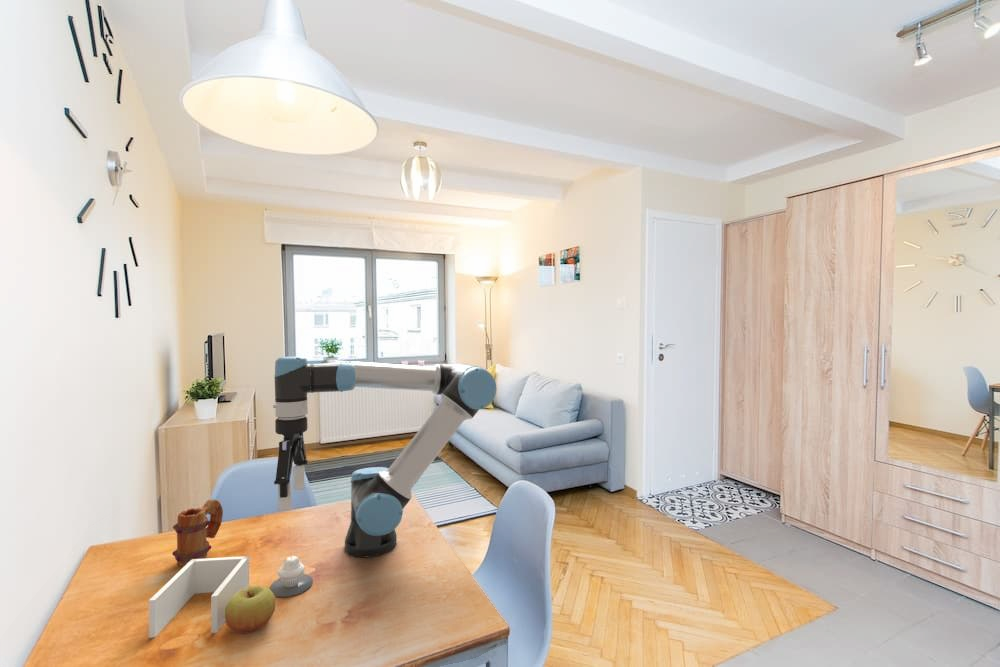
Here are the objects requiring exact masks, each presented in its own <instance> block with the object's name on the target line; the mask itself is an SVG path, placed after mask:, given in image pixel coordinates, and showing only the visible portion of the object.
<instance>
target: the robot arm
mask: <svg viewBox="0 0 1000 667" xmlns="http://www.w3.org/2000/svg"><path fill="white" fill-rule="evenodd" d="M355 388H368V389H369V388H370V389H390V390H406V391H423V392H431V393H432V394H433V395H439V396H440V398H441V402H440V403H439V405H438V406H437V407H436V408H435V409H434V411H433V412H432V413H431V414H430V416H429V417H428V418H427V419H426V420H425V422H424V424H422V426H421V427H420V428H419V429H418V431H417V432H416V433H415V435H413V438H411V440H410V441H409V442H408V443H407V445H406V446H405V447H404V449H403V450H402V451H401V452H400V454H398V456H397V458H395V460H394V461H393V462H392V464H391V465H390V466H389V467H385V466H377V467H376V466H375V467H374V466H372V467H364V468H360V469H356V470H354V471H352V474H351V480H350V484H351V485H350V492H351V493H350V494H351V495H350V496H351V497H350V499H351V501H350V503H351V504H350V522H349V526H348V530H347V532H346V533H347V534H346V536H345V538H344V551H345V552H346V553H347V554H349V555H351V556H354V557H360V558H369V557H370V558H371V557H376V556H377V557H378V556H381V555H383V554H386V553H387V552H390V551H391V550H393V549H394V548H395V547H396V545H397V543H396V542H397V539H398V538H397V533H396V528H397V527H398V526H399V525H400V523H401V522H402V518H403V513H404V511H403V510H404V508H405V507H406V506H407V505H408V503H409V502H410V500H411V499H412V498H413V496H412V495H413V494H412V490H413V487H414V486H415V485H416V484H417V483H418V481H419V480H420V479H421V477H422V476H423V475H424V473H425V472H426V471H427V470H428V468H429V467H430V466H431V464H432V463H433V462H434V461H435V459H436V458H437V456H438V455H439V454H440V453H441V451H442V450H443V449H444V447H445V446H446V445H447V443H448V442H449V441H450V439H452V437H453V436H454V434H455V433H456V432H457V431H458V429H459V428H460V427H461V426H462V424H463V423H464V422H465V421H467V420H472V419H473V418H474V417H475V415H476V414H478V412H479V410H482V409H486V408H487V407H489V406H490V405H491V404H492V403H493V401H494V399H495V398H496V395H497V382H496V379H495V377H494V376H493V375H492V373H491V372H490V371H488V370H487V369H485V368H483V367H481V366H478V365H471V364H468V363H455V364H442V363H441V364H439V363H436V364H435V365H434V366H421V365H408V364H396V363H395V364H394V363H380V362H367V361H355V360H354V361H353V360H352V361H351V360H350V361H348V360H341V359H338V360H337V359H335V358H327V359H324V360H323V361H321V362H320V363H308V359H307V357H305V356H302V355H301V356H300V355H299V356H282V357H278V358H277V359H276V360H275V362H274V402H275V403H274V404H273V406H272V408H273V409H275V417H276V418H275V421H274V423H275V426H274V428H275V433H276V434H277V435H282V436H283V440H281V441H279V442H278V456H277V464H276V473H275V480H274V481H273V483H274V485H278V511H286V510H287V511H288V510H292V489H293V491H303V490H305V465H308V463H309V462H308V461H309V460H307V454H306V447H305V440H304V433H305V432H307V431H308V417H307V416H306V415H308V394H311V393H312V394H314V393H329V392H331V393H334V392H335V393H336V392H340V393H343V392H347V391H348V392H349V391H354V389H355ZM293 463H294V465H293ZM291 474H292V480H293V481H292V482H293V484H292V482H291ZM292 485H293V486H292Z"/></svg>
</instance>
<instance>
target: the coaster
mask: <svg viewBox="0 0 1000 667" xmlns="http://www.w3.org/2000/svg"><path fill="white" fill-rule="evenodd" d="M312 585H313V577H312V576H311V575H310V574H306V573H303V575H302V577H301V579H300V581H299V583H298V584H297V585H296V586H294V587H285V586H284V584H283V583H282V581H281V580H280V578H279V577H278V578H277V579H276V580H274V581H273V582H272V583H271V584H270V585H269V587H268V588H269V589H270V590H271V591H272V592H273V594H274V595H275V598H282V599H283V598H285V599H286V598H291V597H294V596H295V597H296V596H298V595H301V594H303V593H304V592H307V591H308V590H309V589H310V588H311V587H312Z"/></svg>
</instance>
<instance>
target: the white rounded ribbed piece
mask: <svg viewBox="0 0 1000 667" xmlns="http://www.w3.org/2000/svg"><path fill="white" fill-rule="evenodd" d="M304 572H305V565H304V564H303V563H302V562H301V561H300V559H299V557H298V556H295V555H294V556H293V555H292V556H288V557H286V559H284V561H283V564H282V566H280V567H279V569H278V571H277V575H278V579H279V578H280V580H281V581H282V583H283V584H284V586H285V587H294V586H296V585H297V584H298V583H299V581H300V579H301V577H302V575H303V574H304Z"/></svg>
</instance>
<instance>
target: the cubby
mask: <svg viewBox="0 0 1000 667" xmlns="http://www.w3.org/2000/svg"><path fill="white" fill-rule="evenodd" d="M247 587H250V555H244V556H230V557H229V556H226V557H212V558H211V557H210V558H207V557H206V558H205V559H192V560H190V561H189V562H188V563H187V564H186V565H185V566H182V568H181V569H180V570H179V571H178V572H176V574H175V575H174V576H173V577H172V578H170V579H169V581H167V583H166V584H164V585H163V586H162V587H161V588H160V589H159V590H158V591H157V592H155V594H154V595H152V596H151V598H150V599H148V639H152V638H156V637H157V636H158V635H159V634H160V633H161V632H162V630H164V628H165V627H166V626H167V625H168V624H169V622H171V620H173V618H174V617H175V616H176V615H177V614H178V613H179V611H181V609H182V608H183V607H184V606H185V605H186V604H187V602H189V601H190V600H191V599H192V597H193V596H194V595H195V594H210V593H212V594H211V596H210V599H211V600H210V603H211V604H210V609H211V610H210V613H211V614H210V615H211V616H210V634H215V633H218V632H219V631H220V629H221V628H222V627H223V625H224V624H225V623H226V619H225V608H226V606H227V604H228V602H229V600H230V599H231V597H232V596H233V595H234V594H235V593H237V592H238V591H240V590H242V589H244V588H247Z"/></svg>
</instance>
